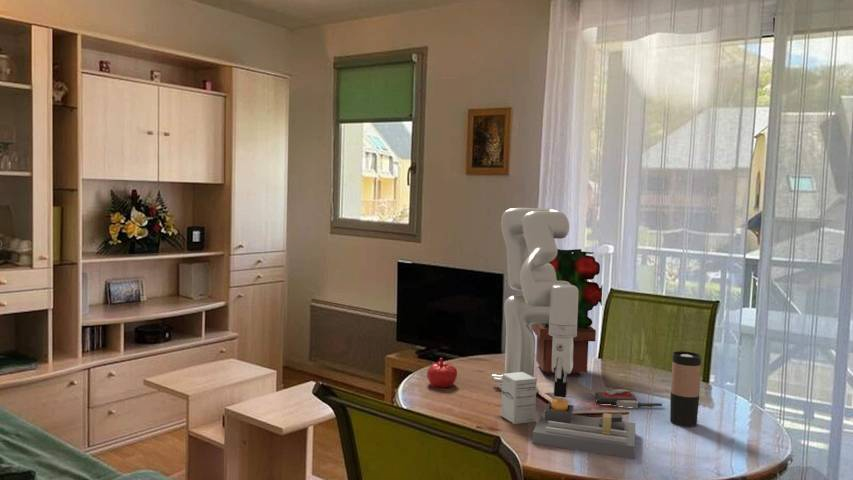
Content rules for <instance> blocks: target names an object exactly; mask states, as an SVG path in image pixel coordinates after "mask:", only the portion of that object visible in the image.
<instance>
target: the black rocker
mask: <svg viewBox="0 0 853 480" xmlns="http://www.w3.org/2000/svg"><path fill="white" fill-rule="evenodd" d="M611 414H612V419H611V422H622V421H623V413H611ZM601 418H602V422H603V414H602V416H601Z"/></svg>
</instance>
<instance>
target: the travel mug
mask: <svg viewBox="0 0 853 480" xmlns="http://www.w3.org/2000/svg"><path fill="white" fill-rule="evenodd" d="M672 353H673V354H672V364H671V365H672V366H671V367H672V368H671V378H670V379H671V381H670V382H671V383H670V400H669V401H670V402H669V403H670V405H669V406H670V408H669V410H670V411H669V421H670V423H671V424H673V425H674V426H677V427H678V426H679V427H683V428H693V427H694V428H695V427H696V426H697V425H698V414H699V413H698V412H699V402H700V391H701V390H700V387H701V386H700V385H701V366H702V355H701V354H699V353H696V352H692V351H685V350H678V351H674V352H672Z"/></svg>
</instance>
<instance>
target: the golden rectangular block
mask: <svg viewBox="0 0 853 480" xmlns="http://www.w3.org/2000/svg"><path fill="white" fill-rule="evenodd" d="M612 414H613V413H605V412H603V413H602V415H603V426H602V434H603V435H611V419H612Z"/></svg>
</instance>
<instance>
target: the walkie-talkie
mask: <svg viewBox="0 0 853 480" xmlns="http://www.w3.org/2000/svg"><path fill="white" fill-rule="evenodd" d="M595 399H596V400H597V401H595V403H596V404H597V405H599V404H611V405H616V406H615V407H617V406H623V407H633V408H632V409H635V408H639V407H640V408H641V407H650V408H651V407H662V406H663V404H662V403H660V402H659V403H658V402H655V403H653V402H638V399H637V397H636V396H635V394H632V393H631V392H630V390H628V389H626V388H625V389H621V388H620V389H619V388H618V389H617V388H616V389H614V390H612V391H609V390H607V389H606V390H605V391H595V392H594V400H595Z"/></svg>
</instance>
